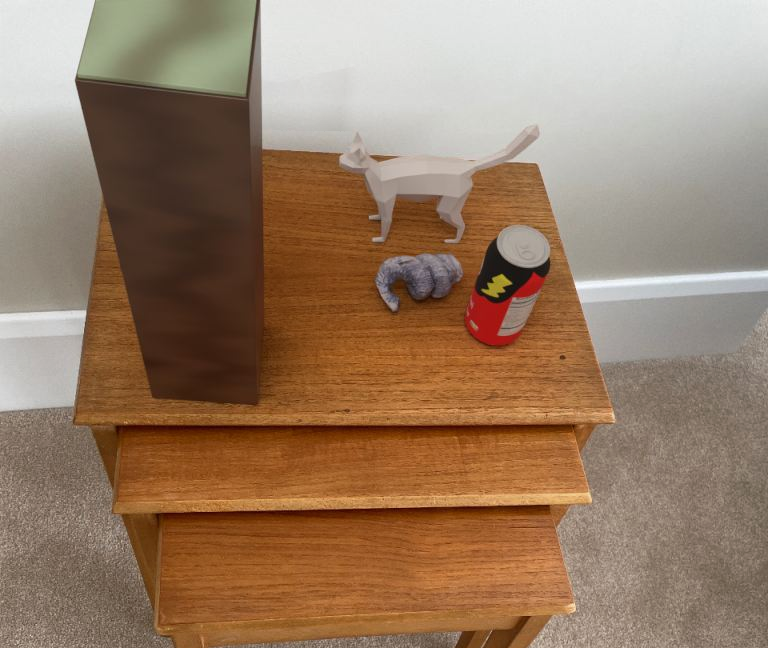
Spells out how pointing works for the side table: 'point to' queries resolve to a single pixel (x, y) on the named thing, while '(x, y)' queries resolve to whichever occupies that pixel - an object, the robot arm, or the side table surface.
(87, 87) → the front stand
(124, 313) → the side table surface
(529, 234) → the beverage can
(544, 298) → the side table surface
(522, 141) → the cat figurine
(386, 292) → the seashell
